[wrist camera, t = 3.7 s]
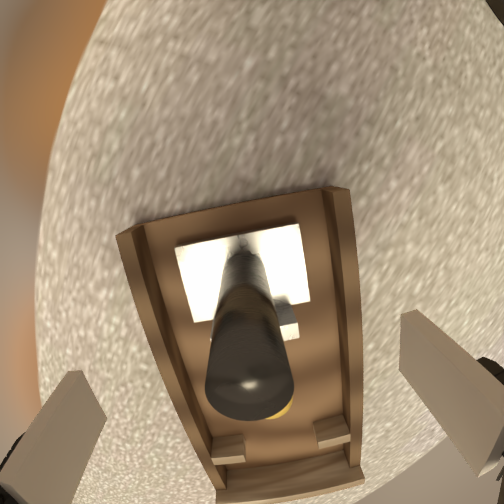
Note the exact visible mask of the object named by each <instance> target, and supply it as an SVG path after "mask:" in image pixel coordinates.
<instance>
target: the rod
mask: <svg viewBox="0 0 504 504" xmlns="http://www.w3.org/2000/svg"><path fill="white" fill-rule="evenodd" d="M174 249H175V253H176V257H177V261H178V265H179V268H180V272H181V276H182V280H183V284H184V287H185V291H186V295H187V299H188V302H189V306H190V309H191V313H192V316H193V320H194V322H201V321H207V320H213V323H212V329H211V335H210V341H211V346H210V353H209V360H208V366H207V373H206V380H205V394H206V398H207V400H208V402H209V403H210V405H211V406H212V407H213V408H214V409H215V410H216V411H218V412H219V413H220V414H222V415H224V416H226V417H229V418H231V419H235V420H240V421H257V420H262V419H266V418H269V417H271V416H273V415H275V414H277V413H279V412H280V411H281V410H283V409H284V408H285V407H286V406H287V404H288V403H289V402H290V400H291V398H292V396H293V393H294V381H293V377H292V373H291V369H290V365H289V361H288V357H287V353H286V349H285V345H284V341H286V340H291V339H296V338H300V336H299V329H298V323H297V320H296V317H295V315H294V312H293V309H292V307H291V305H293V304H298V303H303V302H308V301H310V296H309V288H308V281H307V274H306V267H305V260H304V253H303V247H302V240H301V234H300V228H299V223H298V222H291V223H286V224H280V225H275V226H270V227H264V228H259V229H254V230H249V231H244V232H238V233H233V234H228V235H223V236H218V237H213V238H208V239H203V240H198V241H193V242H188V243H183V244H178V245H176V247H175V248H174Z"/></svg>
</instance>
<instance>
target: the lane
mask: <svg viewBox="0 0 504 504" xmlns="http://www.w3.org/2000/svg"><path fill="white" fill-rule="evenodd" d="M291 222H298V223H299V228H300V234H301V240H302V247H303V253H304V260H305V267H306V274H307V281H308V288H309V296H310V301H308V302H303V303H298V304H293V305H291V307H292V309H293V312H294V315H295V317H296V320H297V323H298V329H299V336H300V338H296V339H291V340H286V341H284V345H285V349H286V353H287V357H288V361H289V365H290V369H291V373H292V377H293V381H294V393H293V402H292V405H291V407H290V409H289V410H288V411H287V412H286V413H285V414H284V415H282V416H281V417H279V418H276V419H262V420H257V421H240V420H235V419H231V418H229V417H226V416H224V415H222V414H220V413H219V412H218V411H216V410H215V409H214V408H213V407H212V406H211V405H210V403H209V402H208V400H207V398H206V394H205V380H206V373H207V366H208V360H209V353H210V346H211V341H210V335H211V329H212V323H213V320H207V321H201V322H194V320H193V316H192V313H191V309H190V306H189V302H188V299H187V295H186V291H185V287H184V284H183V280H182V276H181V272H180V268H179V265H178V261H177V257H176V253H175V249H174V248H175V247H176V245H178V244H183V243H188V242H193V241H198V240H203V239H208V238H213V237H218V236H223V235H228V234H233V233H238V232H244V231H249V230H254V229H259V228H264V227H270V226H275V225H280V224H286V223H291ZM116 240H117V244H118V248H119V251H120V255H121V259H122V262H123V266H124V269H125V273H126V276H127V279H128V283H129V286H130V289H131V292H132V296H133V299H134V302H135V305H136V308H137V311H138V314H139V317H140V320H141V323H142V326H143V328H144V331H145V334H146V337H147V340H148V342H149V345H150V348H151V351H152V353H153V356H154V358H155V361H156V364H157V366H158V369H159V371H160V374H161V376H162V379H163V381H164V384H165V386H166V388H167V391H168V393H169V396H170V398H171V400H172V402H173V405H174V407H175V409H176V412H177V414H178V416H179V418H180V420H181V423H182V425H183V427H184V429H185V431H186V433H187V435H188V437H189V439H190V442H191V444H192V446H193V448H194V450H195V452H196V454H197V456H198V458H199V460H200V461H201V463H202V465H203V467H204V469H205V471H206V473H207V475H208V477H209V478H210V480H211V482H212V484H213V486H214V488H215V489H216V504H273V503H280V502H286V501H292V500H298V499H303V498H308V497H313V496H318V495H323V494H327V493H331V492H335V491H339V490H343V489H347V488H350V487H354V486H358V485H361V484H364V482H365V477H364V475H363V472H362V469H361V467H360V460H361V445H362V423H363V334H362V312H361V295H360V281H359V268H358V257H357V247H356V238H355V229H354V220H353V212H352V205H351V197H350V190H349V189H345V188H340V187H334V186H329V187H323V188H317V189H311V190H305V191H299V192H293V193H288V194H282V195H276V196H271V197H266V198H260V199H255V200H250V201H244V202H239V203H234V204H229V205H224V206H219V207H214V208H209V209H205V210H200V211H195V212H190V213H186V214H181V215H177V216H172V217H168V218H163V219H159V220H154V221H150V222H146V223H141V224H137V225H134V226H132V227H130V228H128V229H126V230H125V231H123V232H121V233H119V234H118V235H116Z"/></svg>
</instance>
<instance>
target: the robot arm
mask: <svg viewBox="0 0 504 504" xmlns="http://www.w3.org/2000/svg"><path fill="white" fill-rule="evenodd" d="M487 2H488V3H489V5H490V7H491V8H492V10H493V11H494V12H495V14H496V15H497V17H498V18H499V19H500V21H501V22H502V23H503V24H504V0H487ZM399 371H400V372H401V373H402V374H403V376H404V377H405V378H406V380H407V381H408V382H409V384H410V385H411V386H412V388H413V389H414V390H415V392H416V393H417V394H418V396H419V397H420V398H421V400H422V401H423V402H424V404H425V405H426V406H427V408H428V409H429V410H430V412H431V413H432V414H433V416H434V417H435V419H436V420H437V421H438V423H439V424H440V425H441V427H442V428H443V430H444V431H445V432H446V434H447V435H448V437H449V438H450V439H451V441H452V442H453V443H454V445H455V446H456V448H457V449H458V450H459V452H460V453H461V455H462V456H463V457H464V459H465V461H466V462H467V463H468V465H469V466H470V468H471V469H472V471H473V472H474V474H475V475H476V477H477V478H478V477H479V476H481V475H483V474H485V473H486V472H488V471H490V470H491V469H493V468H494V467H496V465H497V463H498V462H499V460H500V458H501V456H503V457H504V369H503V368H502V367H501V366H500V365H499V364H498V363H497V362H495V361H493V360H490V359H488V358H485V357H482V358H480V359H478V360H475V359H474V358H473V357H472V356H471V355H470V354H469V353H468V352H466V351H465V350H464V349H463V348H462V347H461V346H460V345H458V344H457V343H456V342H455V341H454V340H453V339H451V338H450V337H449V336H448V335H447V334H446V333H445V332H443V331H442V330H441V329H440V328H439V327H437V326H436V325H435V324H434V323H433V322H432V321H430V320H429V319H428V318H427V317H426V316H424V315H423V314H422V313H421V312H420V311H418V310H417V309H416V310H413V311H410V312H407V313H403V314H401V332H400V358H399ZM106 420H107V417H106V415H105V413H104V412H103V410H102V408H101V406H100V404H99V403H98V401H97V399H96V397H95V395H94V393H93V391H92V389H91V387H90V385H89V383H88V381H87V379H86V377H85V375H84V373H83V371H82V370H78V371H68V372H67V374H66V375H65V376H64V378H63V379H62V380H61V382H60V383H59V385H58V386H57V387H56V389H55V390H54V392H53V393H52V394H51V396H50V397H49V399H48V400H47V401H46V403H45V404H44V406H43V407H42V409H41V410H40V412H39V413H38V414H37V416H36V417H35V419H34V420H33V422H32V423H31V425H30V426H29V428H28V429H27V431H26V432H25V433H23V434H22V435H21V436H20V437H19V438H18V439H17V440H16V441H15V443H14V444H13V446H12V448H11V450H10V451H9V452H8V454H7V457H5V458H4V460H3V462H2V463H1V465H0V504H71V503H72V500H73V498H74V495H75V493H76V490H77V488H78V485H79V483H80V480H81V478H82V475H83V473H84V471H85V468H86V466H87V463H88V461H89V459H90V456H91V454H92V452H93V449H94V447H95V445H96V442H97V440H98V438H99V436H100V433H101V431H102V429H103V427H104V424H105V422H106ZM502 475H503V477H502ZM501 477H502V483H501V488H500V493H499V498H498V503H497V504H504V466H503V468H502V470H501V472H500V473H499V475H498V477H497V479H496V480H497V481H499V480H500V478H501Z"/></svg>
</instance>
